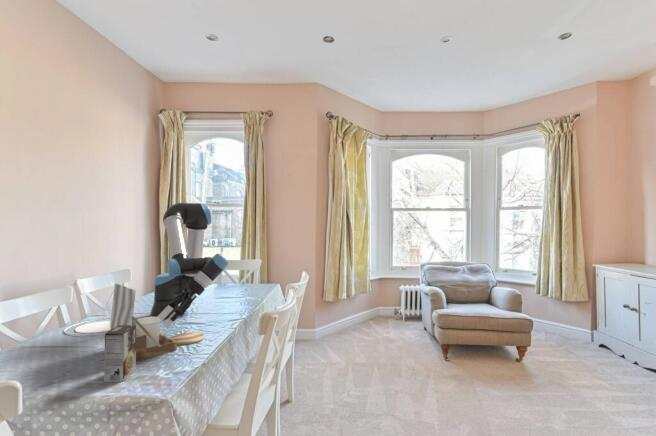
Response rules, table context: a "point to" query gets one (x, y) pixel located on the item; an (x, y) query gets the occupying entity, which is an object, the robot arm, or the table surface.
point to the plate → (92, 327)
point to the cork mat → (188, 338)
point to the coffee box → (120, 353)
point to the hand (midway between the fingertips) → (162, 322)
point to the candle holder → (149, 329)
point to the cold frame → (124, 316)
